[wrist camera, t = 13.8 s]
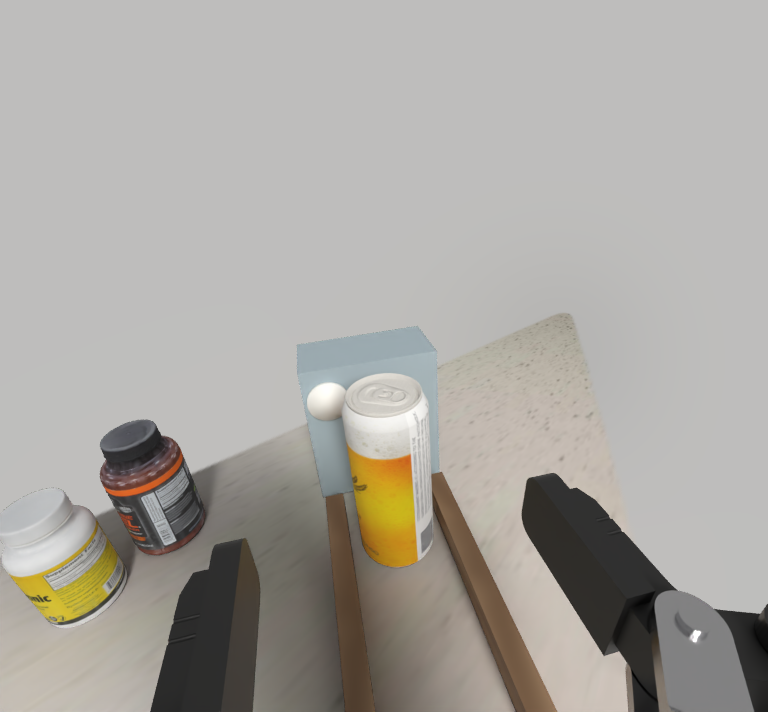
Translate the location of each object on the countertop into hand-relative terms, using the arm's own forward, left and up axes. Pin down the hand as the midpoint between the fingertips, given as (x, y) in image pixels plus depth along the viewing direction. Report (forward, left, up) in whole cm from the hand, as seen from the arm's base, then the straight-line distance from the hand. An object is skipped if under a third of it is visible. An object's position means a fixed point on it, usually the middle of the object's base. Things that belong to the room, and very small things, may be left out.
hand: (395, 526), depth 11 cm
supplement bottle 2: (-18, +21, -20) cm, 34 cm away
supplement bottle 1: (-23, +16, -20) cm, 35 cm away
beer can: (+2, +15, -20) cm, 25 cm away
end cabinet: (+2, +24, -20) cm, 32 cm away
